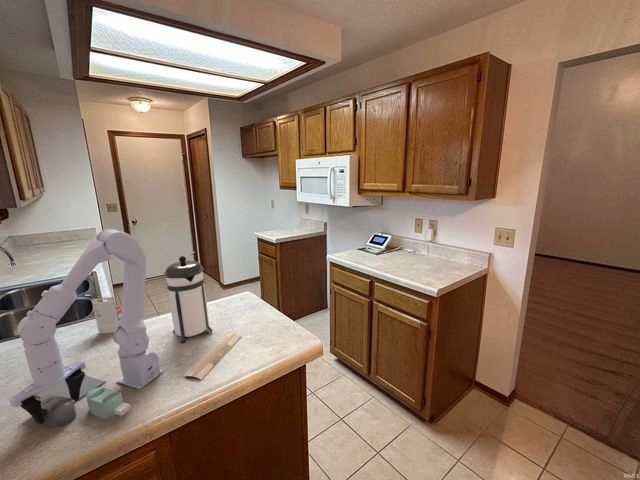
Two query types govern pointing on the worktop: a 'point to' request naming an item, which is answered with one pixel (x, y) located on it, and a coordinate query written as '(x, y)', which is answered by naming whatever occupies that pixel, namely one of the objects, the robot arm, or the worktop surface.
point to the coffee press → (187, 298)
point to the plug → (57, 410)
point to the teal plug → (106, 403)
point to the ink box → (106, 315)
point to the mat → (63, 390)
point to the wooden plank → (213, 356)
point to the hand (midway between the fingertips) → (58, 410)
